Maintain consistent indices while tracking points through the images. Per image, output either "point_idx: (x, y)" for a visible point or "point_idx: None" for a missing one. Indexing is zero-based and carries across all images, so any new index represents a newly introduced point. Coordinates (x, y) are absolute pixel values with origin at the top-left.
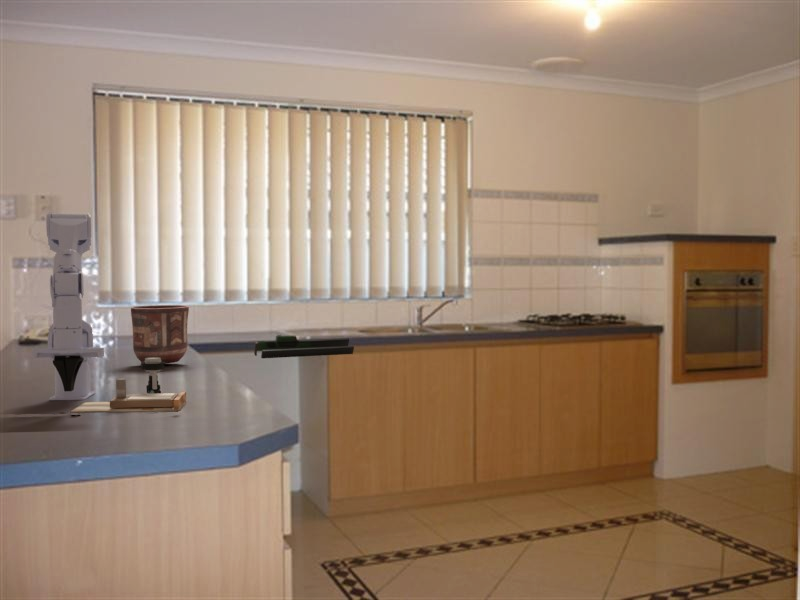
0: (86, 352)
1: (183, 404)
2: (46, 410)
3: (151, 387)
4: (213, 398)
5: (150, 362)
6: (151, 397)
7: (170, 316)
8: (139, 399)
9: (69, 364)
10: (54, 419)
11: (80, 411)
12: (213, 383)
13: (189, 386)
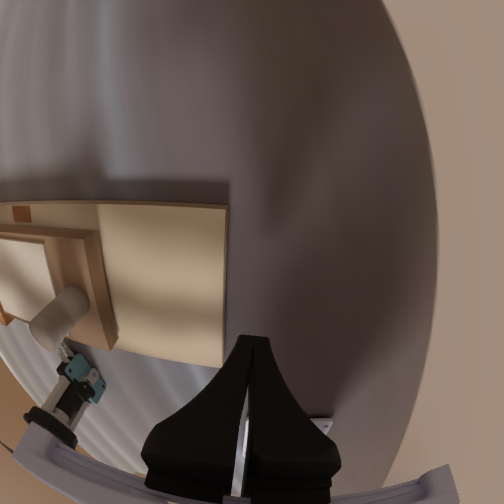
0: (75, 475)
1: None
2: (334, 328)
3: (70, 386)
4: (18, 350)
5: None
6: (10, 261)
7: None
8: (21, 241)
9: (208, 430)
10: (278, 151)
11: (187, 206)
12: (91, 446)
13: (109, 446)
